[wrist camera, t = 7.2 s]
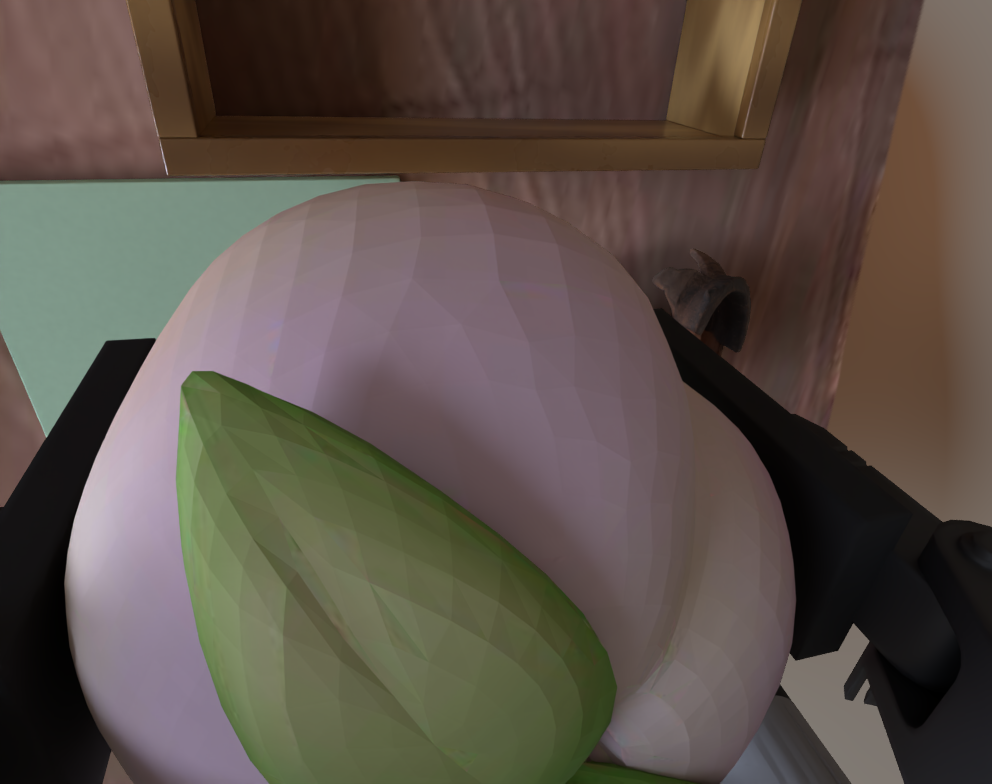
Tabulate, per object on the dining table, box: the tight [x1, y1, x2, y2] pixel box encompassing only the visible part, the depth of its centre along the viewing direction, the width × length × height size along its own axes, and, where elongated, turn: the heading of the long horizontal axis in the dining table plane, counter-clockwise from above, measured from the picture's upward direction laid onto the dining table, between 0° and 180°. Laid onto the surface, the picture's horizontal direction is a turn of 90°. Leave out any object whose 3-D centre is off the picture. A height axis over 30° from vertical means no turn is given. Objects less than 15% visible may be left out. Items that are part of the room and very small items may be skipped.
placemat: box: [0, 176, 400, 437], centre depth 32 cm, size 22×18×1 cm
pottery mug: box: [653, 249, 751, 356], centre depth 34 cm, size 12×10×8 cm
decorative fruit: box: [64, 181, 796, 784], centre depth 9 cm, size 9×8×10 cm
